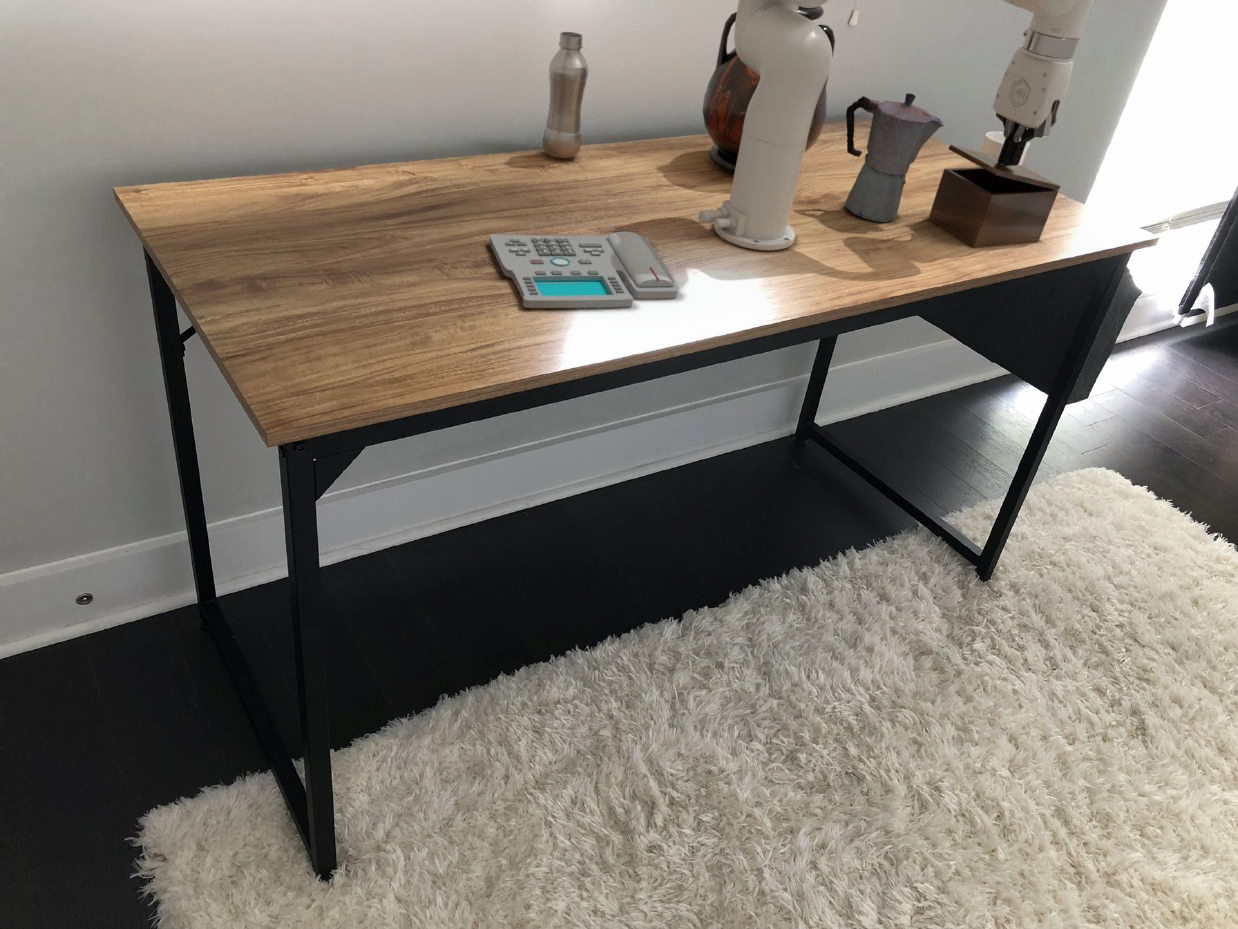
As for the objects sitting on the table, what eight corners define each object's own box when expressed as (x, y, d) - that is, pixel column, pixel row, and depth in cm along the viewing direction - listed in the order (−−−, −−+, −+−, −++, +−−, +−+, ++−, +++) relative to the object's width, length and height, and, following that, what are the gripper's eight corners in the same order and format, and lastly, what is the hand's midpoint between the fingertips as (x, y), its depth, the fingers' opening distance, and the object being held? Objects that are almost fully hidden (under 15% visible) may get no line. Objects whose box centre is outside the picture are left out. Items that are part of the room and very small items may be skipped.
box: (973, 247, 159) (991, 195, 153) (927, 218, 167) (944, 168, 162) (1038, 241, 164) (1058, 191, 159) (991, 214, 173) (1009, 165, 167)
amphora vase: (810, 158, 185) (848, -1, 169) (811, 198, 168) (854, 25, 152) (698, 139, 186) (725, -21, 170) (688, 177, 169) (717, 3, 153)
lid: (996, 175, 151) (999, 170, 151) (947, 149, 159) (950, 144, 159) (1058, 190, 159) (1061, 186, 159) (1009, 164, 167) (1011, 160, 167)
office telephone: (646, 226, 143) (692, 289, 128) (644, 243, 144) (688, 307, 129) (489, 225, 136) (518, 291, 121) (488, 242, 138) (516, 310, 122)
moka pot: (914, 231, 161) (953, 108, 149) (822, 213, 163) (853, 90, 151) (912, 211, 169) (948, 92, 157) (824, 194, 170) (853, 76, 159)
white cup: (1019, 199, 181) (1039, 146, 175) (985, 200, 178) (1005, 146, 172) (992, 183, 186) (1010, 131, 180) (959, 184, 184) (977, 131, 178)
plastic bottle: (537, 149, 171) (546, 28, 160) (574, 149, 173) (585, 30, 162) (546, 162, 167) (556, 38, 155) (584, 162, 169) (596, 40, 157)
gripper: (997, 32, 152) (959, 148, 163) (1068, 59, 141) (1022, 182, 152) (1032, 32, 155) (993, 147, 166) (1104, 59, 144) (1057, 179, 155)
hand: (1007, 163), depth 159 cm, fingers closed
